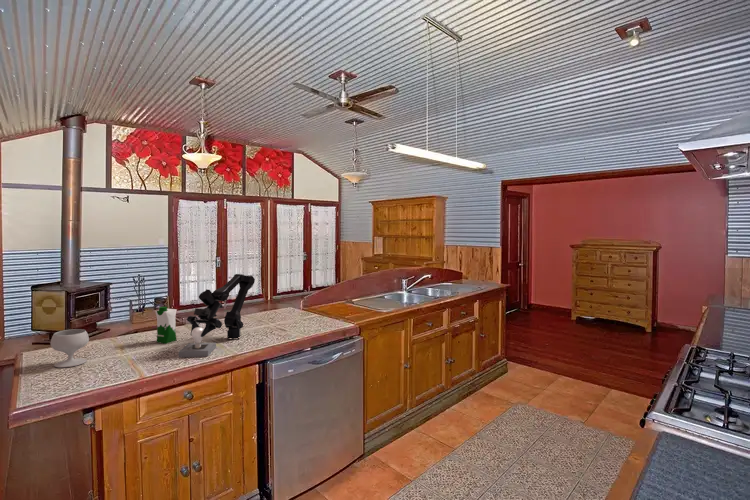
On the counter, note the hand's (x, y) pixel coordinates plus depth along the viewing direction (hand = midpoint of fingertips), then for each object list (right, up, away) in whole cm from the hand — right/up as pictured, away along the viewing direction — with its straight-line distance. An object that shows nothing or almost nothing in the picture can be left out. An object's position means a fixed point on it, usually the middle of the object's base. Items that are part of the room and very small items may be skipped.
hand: (196, 336), depth 196 cm
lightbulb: (0, -7, +2) cm, 7 cm away
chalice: (-51, -9, -17) cm, 54 cm away
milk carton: (-26, -8, +20) cm, 34 cm away
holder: (0, -9, +2) cm, 9 cm away
